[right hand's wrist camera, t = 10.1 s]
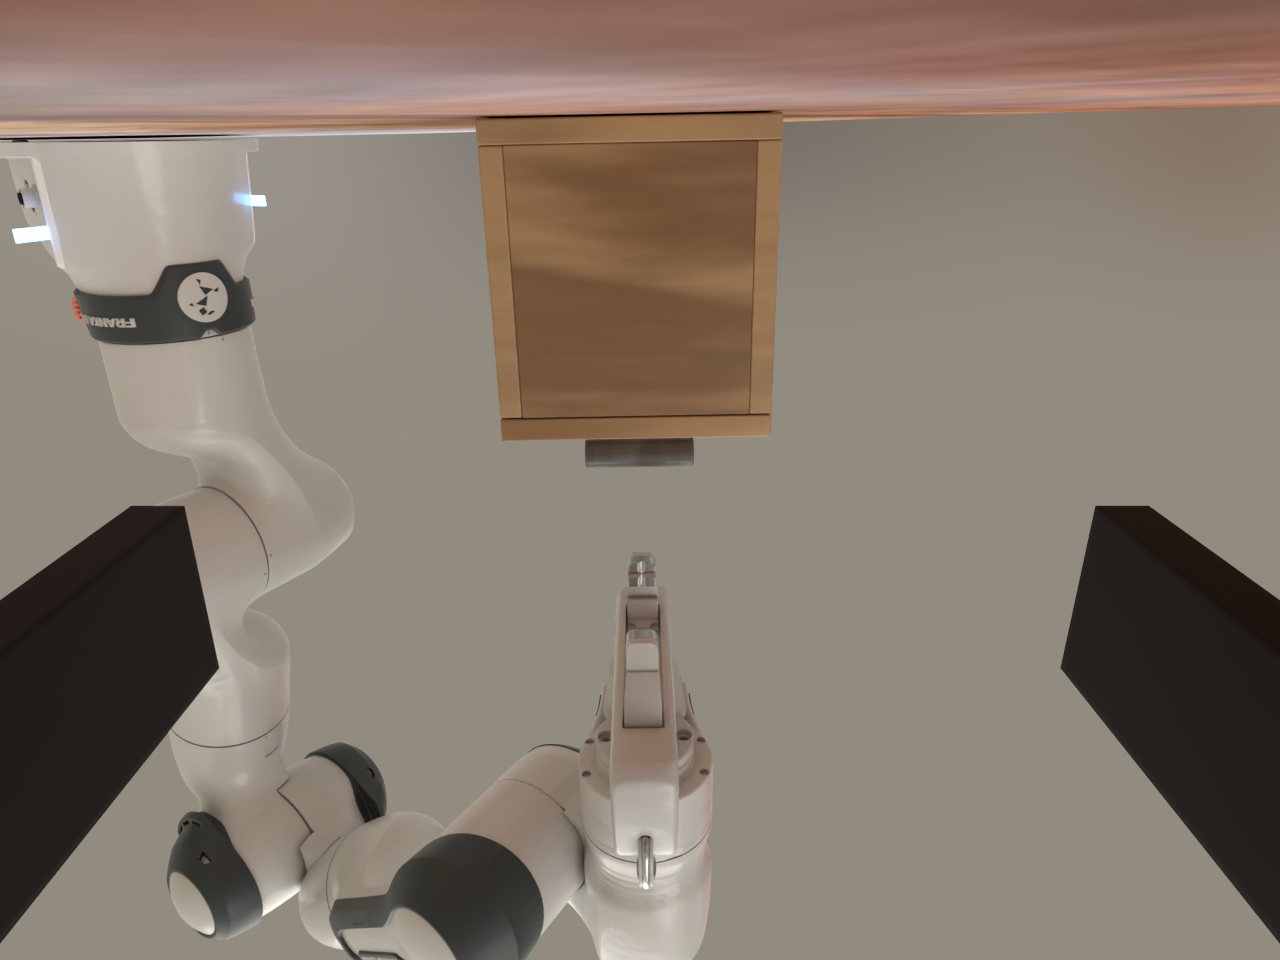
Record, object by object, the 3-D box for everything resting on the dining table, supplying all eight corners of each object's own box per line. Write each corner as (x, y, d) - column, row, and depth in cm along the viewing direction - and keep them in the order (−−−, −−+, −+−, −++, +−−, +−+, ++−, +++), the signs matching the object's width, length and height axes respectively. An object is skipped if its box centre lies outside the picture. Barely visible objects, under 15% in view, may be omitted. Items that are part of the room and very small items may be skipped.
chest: (731, 120, 43) (727, 320, 47) (534, 124, 43) (546, 324, 47) (783, 112, 27) (771, 413, 31) (474, 118, 27) (500, 418, 31)
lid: (726, 318, 48) (723, 449, 50) (548, 322, 48) (555, 452, 50) (771, 415, 31) (763, 600, 34) (500, 419, 31) (515, 604, 34)
